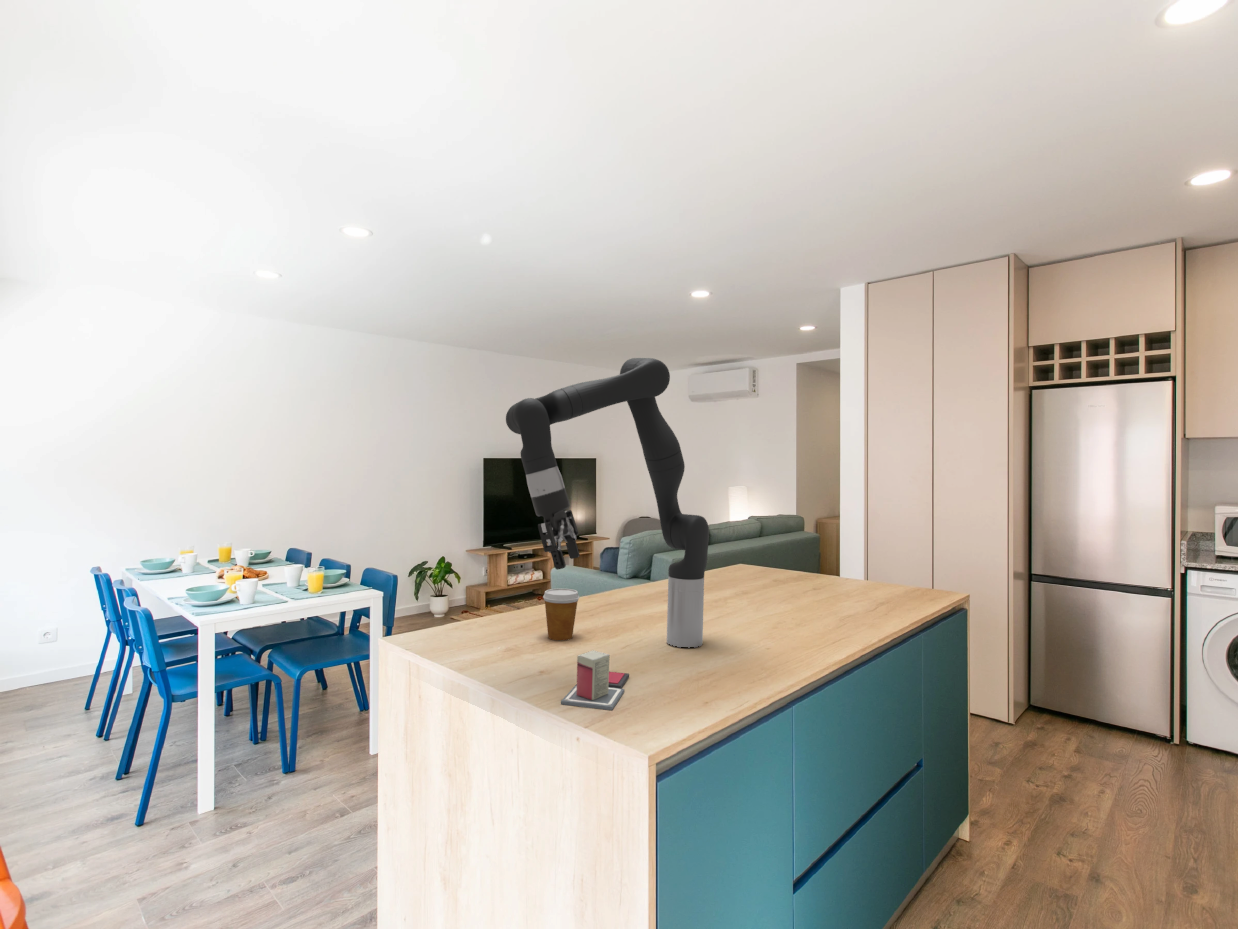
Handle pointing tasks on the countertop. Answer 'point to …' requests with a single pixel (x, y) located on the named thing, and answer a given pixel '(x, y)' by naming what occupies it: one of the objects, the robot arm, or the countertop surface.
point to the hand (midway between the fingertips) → (568, 563)
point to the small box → (592, 674)
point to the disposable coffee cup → (560, 612)
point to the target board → (599, 703)
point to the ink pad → (617, 679)
